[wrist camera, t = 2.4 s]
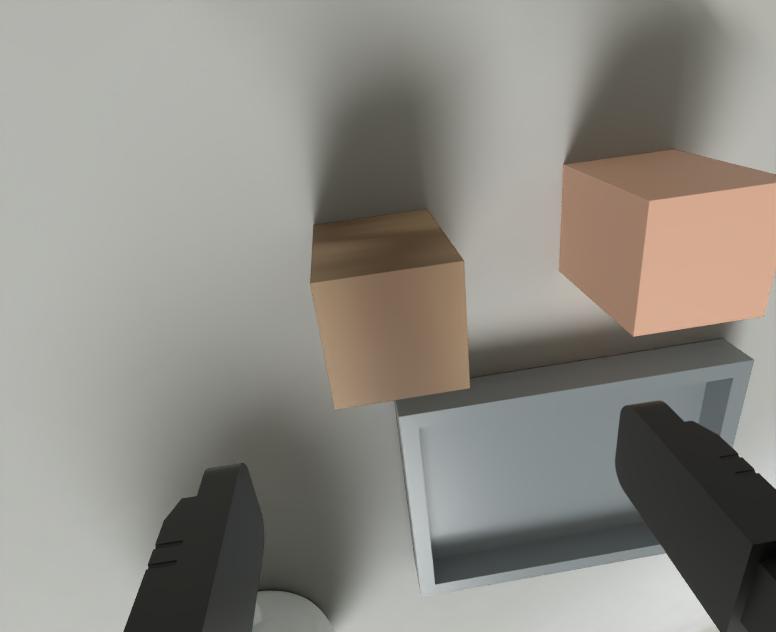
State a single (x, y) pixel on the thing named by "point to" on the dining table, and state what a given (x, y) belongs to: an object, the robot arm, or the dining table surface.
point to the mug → (288, 614)
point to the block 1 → (389, 308)
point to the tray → (546, 461)
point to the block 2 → (669, 239)
